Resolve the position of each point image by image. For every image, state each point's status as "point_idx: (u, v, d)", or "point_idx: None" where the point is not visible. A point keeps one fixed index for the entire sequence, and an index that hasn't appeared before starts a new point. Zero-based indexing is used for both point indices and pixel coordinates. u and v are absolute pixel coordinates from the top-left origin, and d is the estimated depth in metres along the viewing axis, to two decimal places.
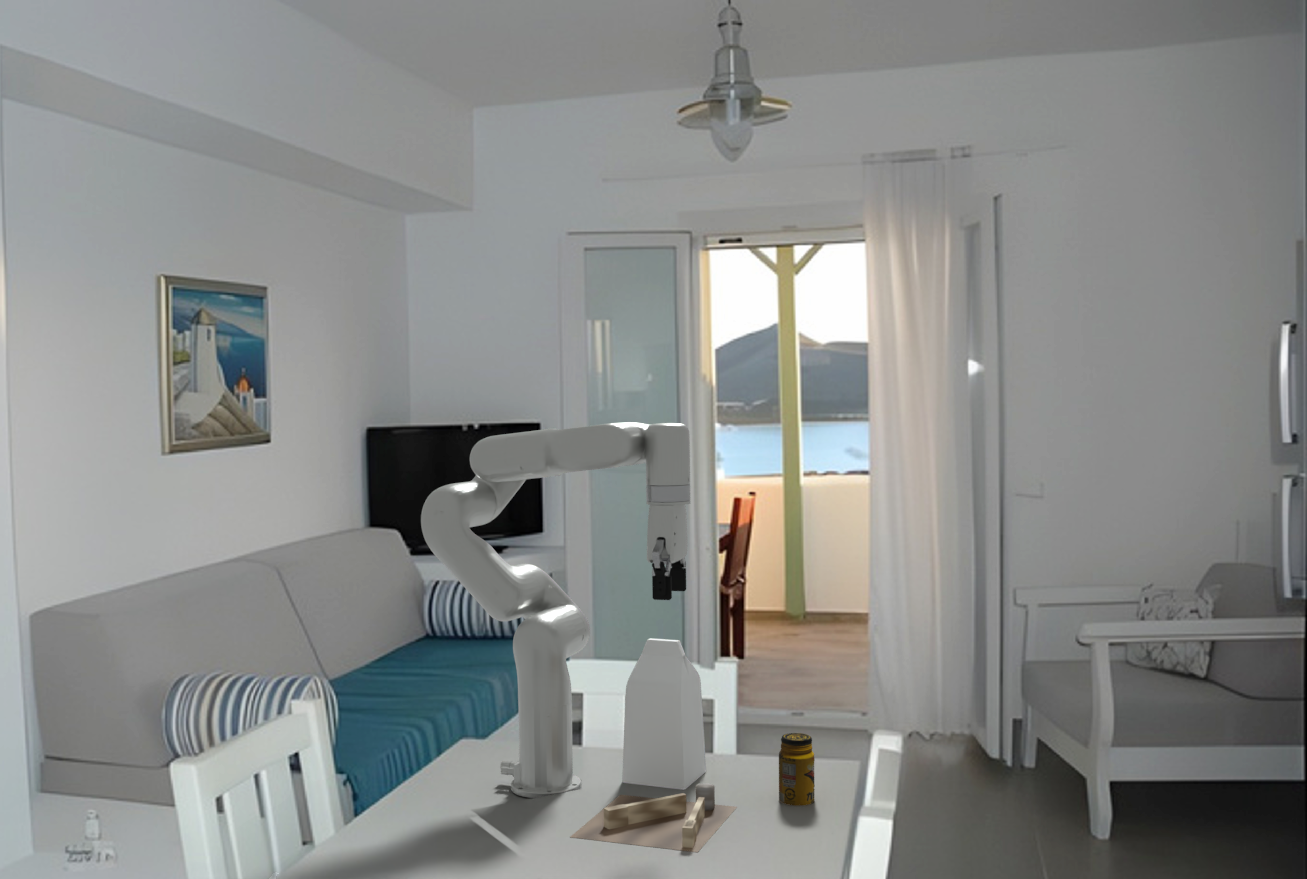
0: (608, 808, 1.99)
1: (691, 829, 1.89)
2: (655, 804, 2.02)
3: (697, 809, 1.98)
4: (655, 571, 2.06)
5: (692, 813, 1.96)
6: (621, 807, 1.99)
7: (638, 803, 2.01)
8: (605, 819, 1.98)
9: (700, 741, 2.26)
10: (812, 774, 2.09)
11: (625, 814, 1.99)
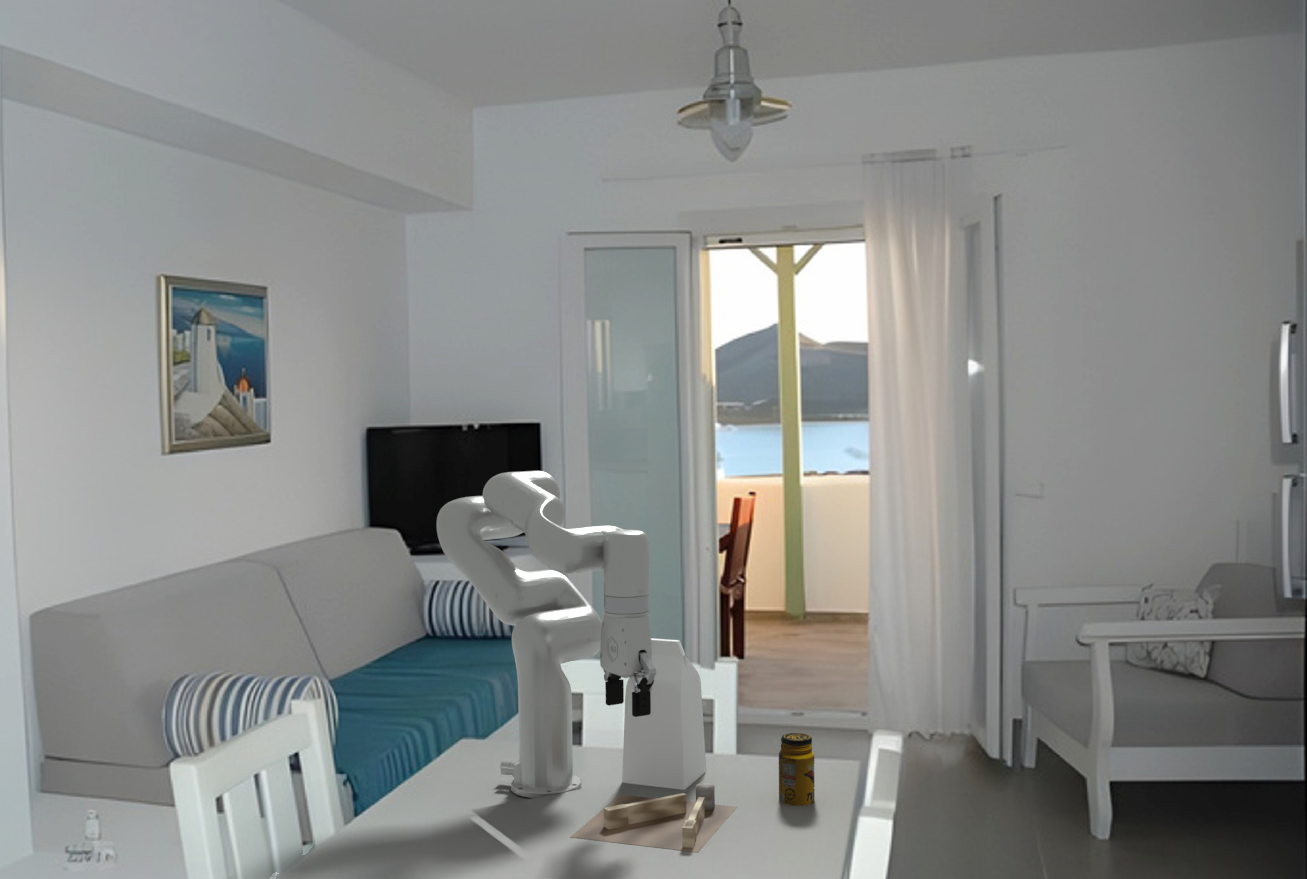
0: (608, 808, 1.99)
1: (691, 829, 1.89)
2: (655, 804, 2.02)
3: (697, 809, 1.98)
4: (643, 687, 1.99)
5: (692, 813, 1.96)
6: (621, 807, 1.99)
7: (638, 803, 2.01)
8: (605, 819, 1.98)
9: (700, 741, 2.26)
10: (812, 774, 2.09)
11: (625, 814, 1.99)
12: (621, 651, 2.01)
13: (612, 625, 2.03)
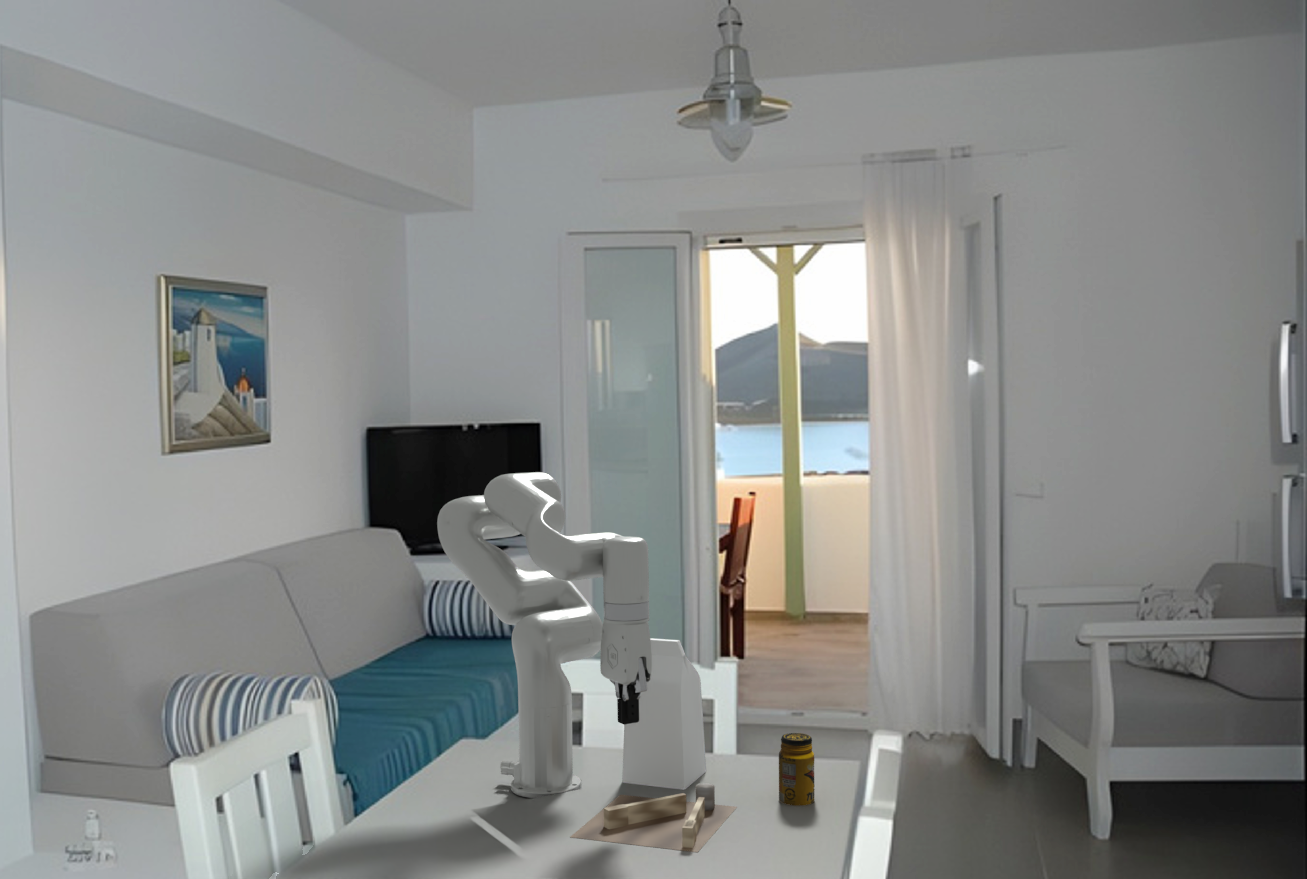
0: (608, 808, 1.99)
1: (691, 829, 1.89)
2: (655, 804, 2.02)
3: (697, 809, 1.98)
4: (632, 695, 2.03)
5: (692, 813, 1.96)
6: (621, 807, 1.99)
7: (638, 803, 2.01)
8: (605, 819, 1.98)
9: (700, 741, 2.26)
10: (812, 774, 2.09)
11: (625, 814, 1.99)
12: (621, 658, 2.01)
13: (612, 632, 2.03)
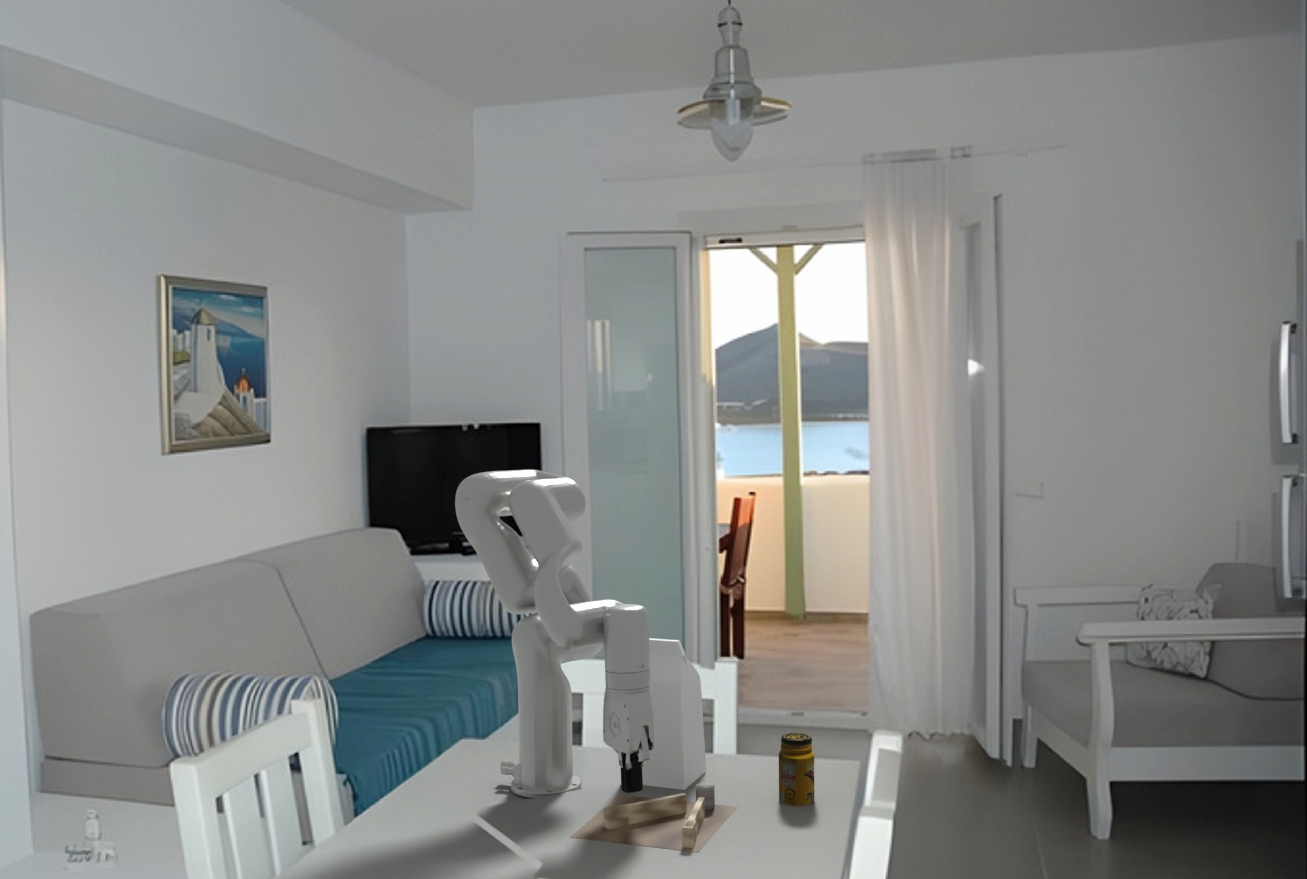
0: (608, 808, 1.99)
1: (691, 829, 1.89)
2: (655, 804, 2.02)
3: (697, 809, 1.98)
4: (635, 764, 2.03)
5: (692, 813, 1.96)
6: (621, 807, 1.99)
7: (638, 803, 2.01)
8: (605, 819, 1.98)
9: (700, 741, 2.26)
10: (812, 774, 2.09)
11: (625, 814, 1.99)
12: (623, 727, 2.01)
13: (613, 701, 2.04)
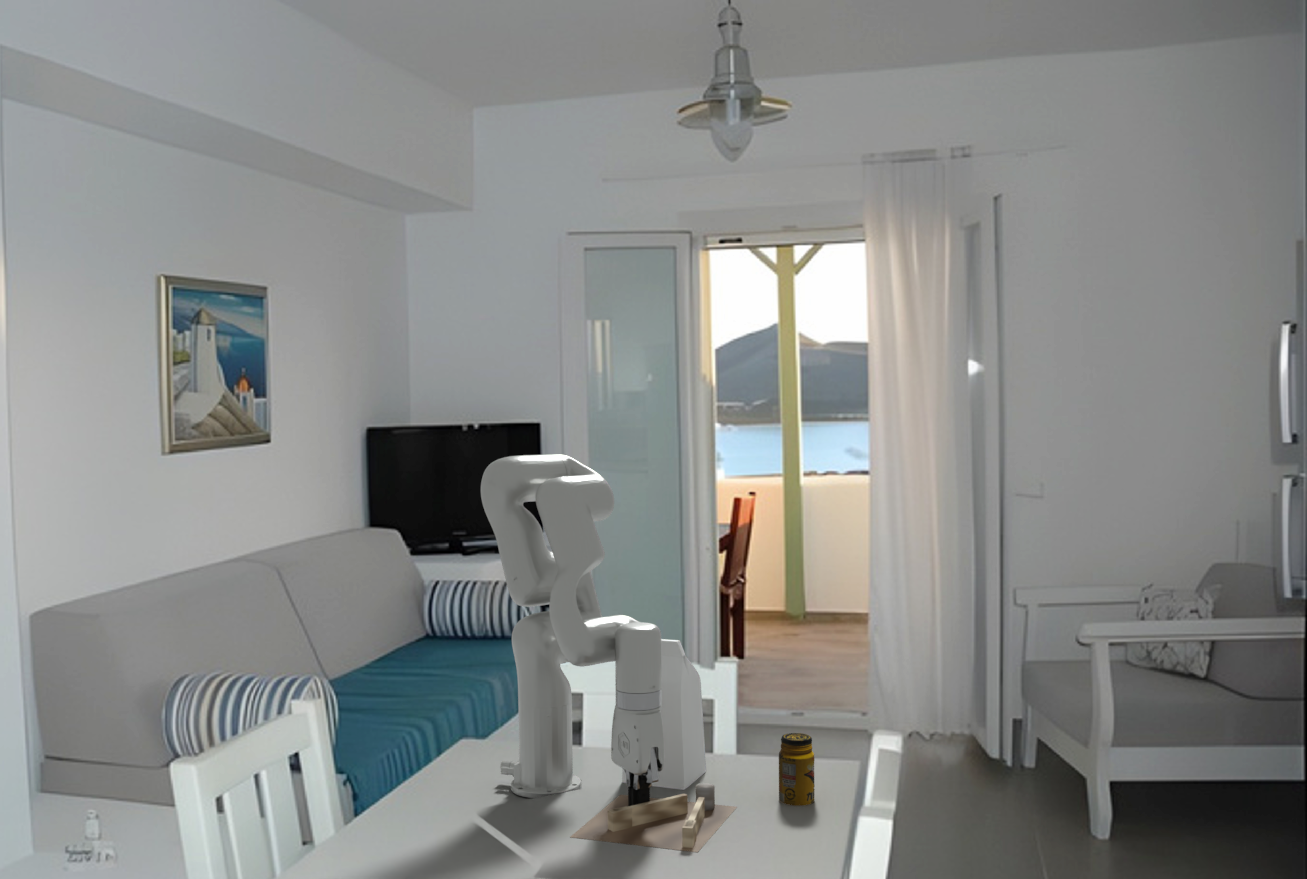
0: (612, 810, 1.97)
1: (691, 829, 1.89)
2: (658, 805, 2.02)
3: (697, 809, 1.98)
4: (643, 785, 2.00)
5: (692, 813, 1.96)
6: (625, 809, 1.98)
7: (641, 805, 2.00)
8: (609, 821, 1.97)
9: (700, 741, 2.26)
10: (812, 774, 2.09)
11: (629, 816, 1.98)
12: (633, 748, 1.98)
13: (623, 720, 2.01)
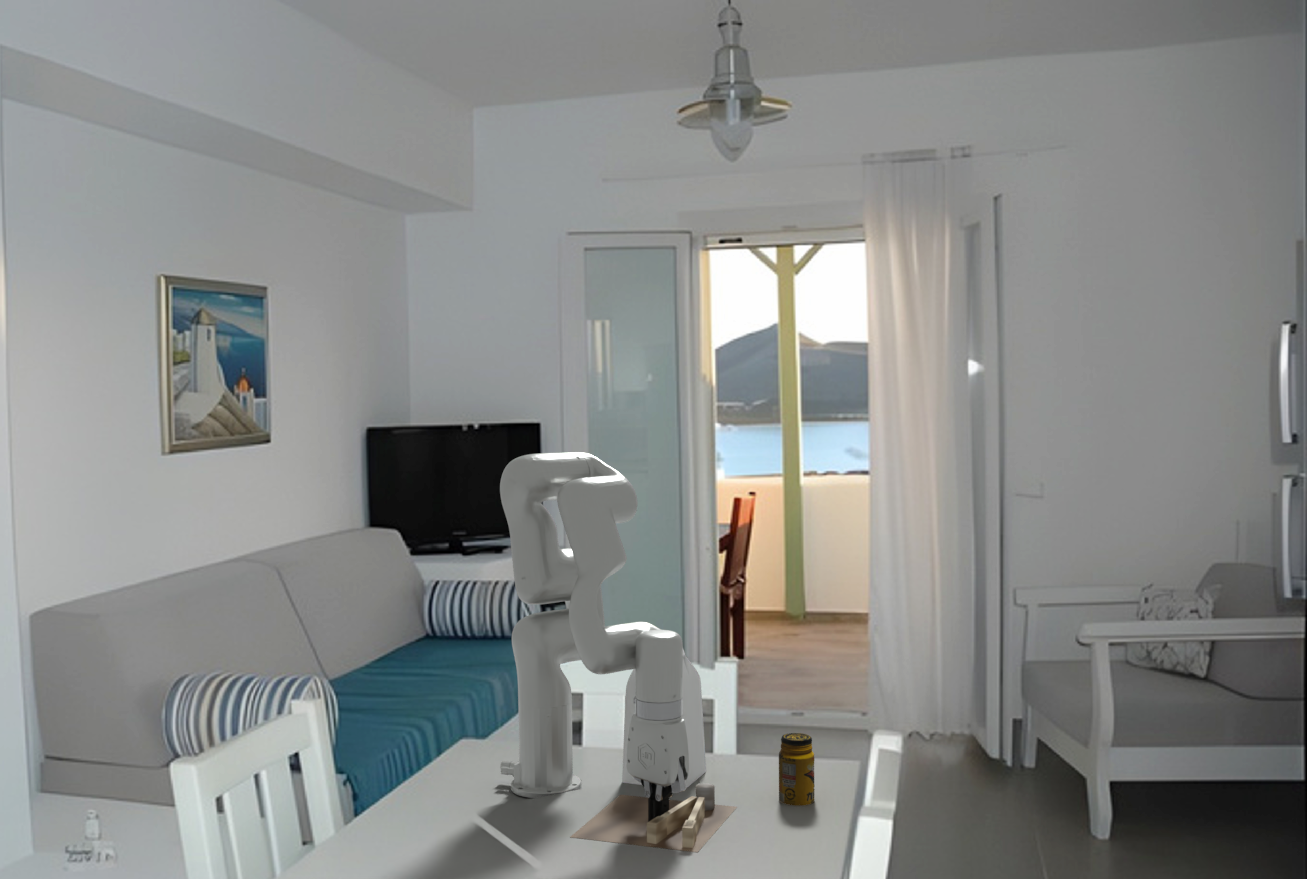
0: (651, 822, 1.92)
1: (691, 829, 1.89)
2: (680, 811, 1.99)
3: (697, 809, 1.98)
4: (667, 795, 1.96)
5: (692, 813, 1.96)
6: (661, 819, 1.93)
7: (670, 813, 1.96)
8: (649, 834, 1.91)
9: (700, 741, 2.26)
10: (812, 774, 2.09)
11: (665, 825, 1.93)
12: (660, 759, 1.94)
13: (646, 731, 1.96)
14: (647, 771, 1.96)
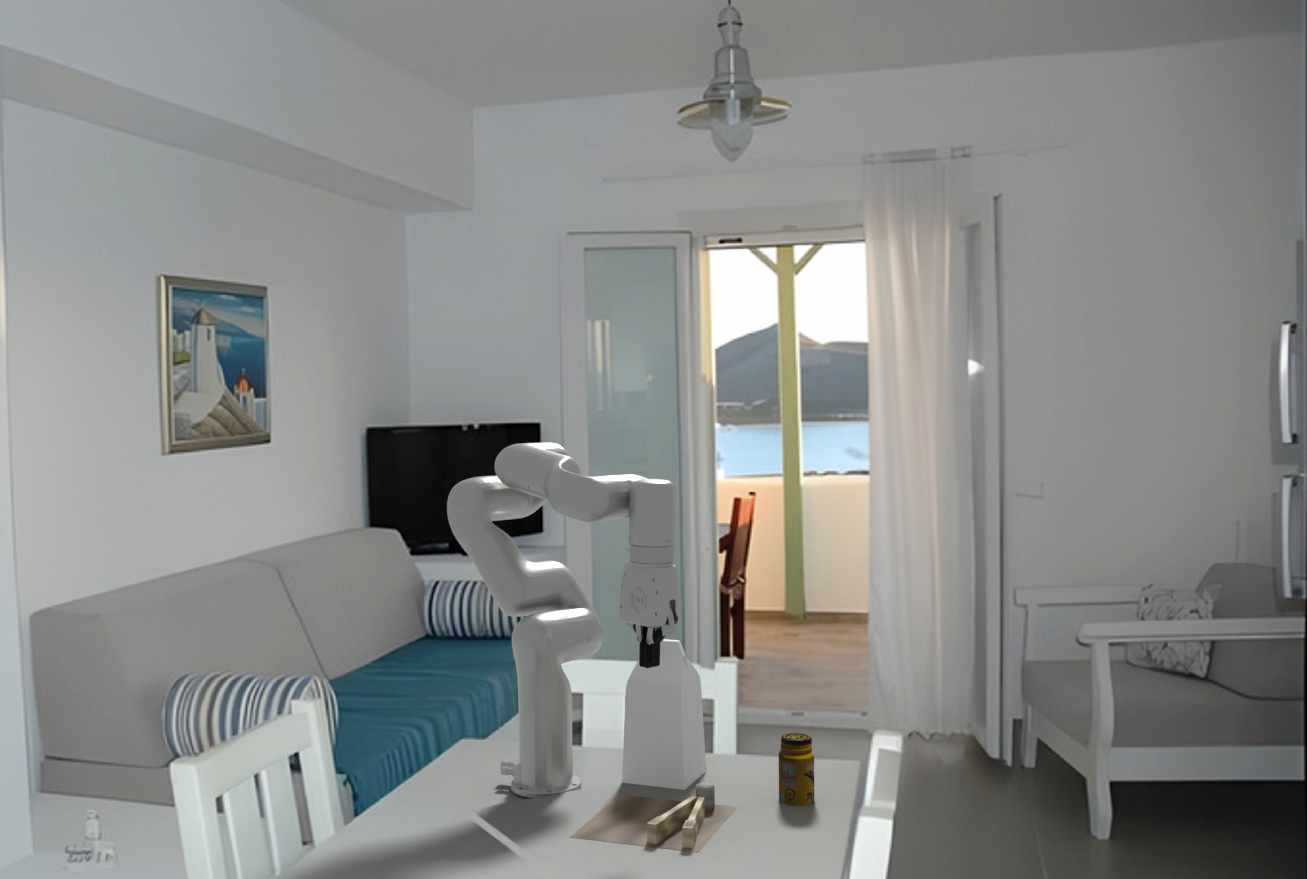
0: (651, 822, 1.92)
1: (691, 829, 1.89)
2: (680, 811, 1.99)
3: (697, 809, 1.98)
4: (657, 639, 2.01)
5: (692, 813, 1.96)
6: (661, 819, 1.93)
7: (670, 813, 1.96)
8: (650, 834, 1.91)
9: (700, 741, 2.26)
10: (812, 774, 2.09)
11: (665, 825, 1.93)
12: (651, 601, 1.98)
13: (638, 575, 2.00)
14: (638, 614, 2.01)
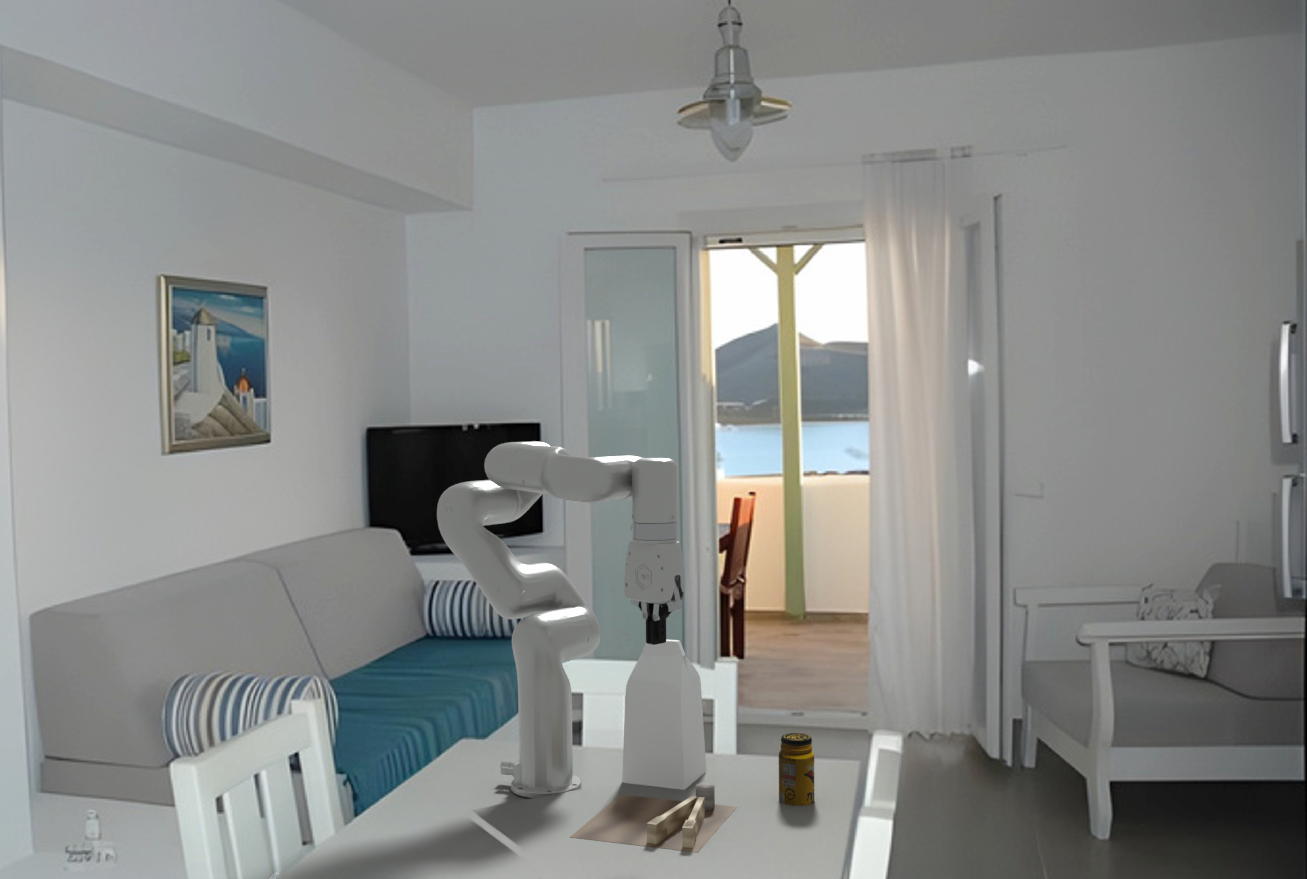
0: (651, 822, 1.92)
1: (691, 829, 1.89)
2: (680, 811, 1.99)
3: (697, 809, 1.98)
4: (664, 615, 2.03)
5: (692, 813, 1.96)
6: (661, 819, 1.93)
7: (670, 813, 1.96)
8: (650, 834, 1.91)
9: (700, 741, 2.26)
10: (812, 774, 2.09)
11: (665, 825, 1.93)
12: (656, 577, 2.01)
13: (643, 552, 2.03)
14: (644, 591, 2.03)
